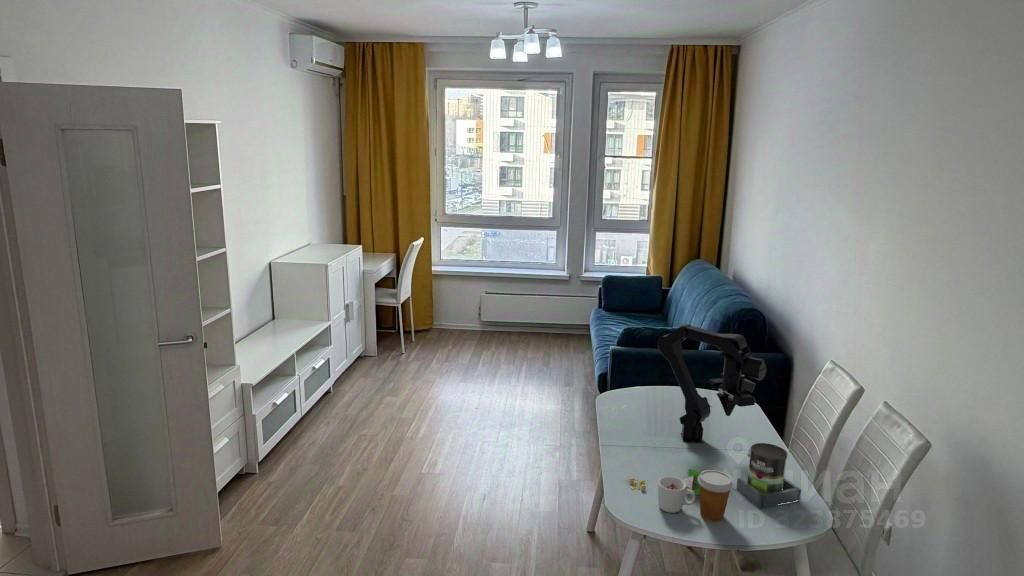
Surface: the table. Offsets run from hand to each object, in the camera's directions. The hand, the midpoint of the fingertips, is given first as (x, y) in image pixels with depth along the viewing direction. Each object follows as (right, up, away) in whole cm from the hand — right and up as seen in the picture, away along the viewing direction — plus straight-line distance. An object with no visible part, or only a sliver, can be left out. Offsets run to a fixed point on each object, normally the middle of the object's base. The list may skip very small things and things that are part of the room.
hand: (727, 415), depth 226 cm
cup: (-26, -21, -34) cm, 47 cm away
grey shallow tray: (+4, -19, -25) cm, 32 cm away
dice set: (-35, -18, -22) cm, 45 cm away
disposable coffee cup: (-17, -22, -37) cm, 46 cm away
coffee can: (+3, -19, -24) cm, 31 cm away
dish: (+10, -14, 0) cm, 17 cm away
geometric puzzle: (-18, -19, -24) cm, 35 cm away
